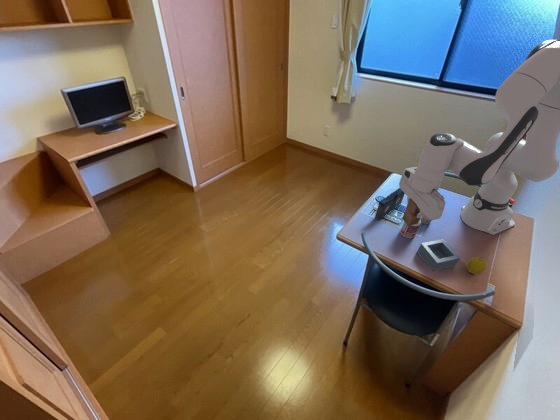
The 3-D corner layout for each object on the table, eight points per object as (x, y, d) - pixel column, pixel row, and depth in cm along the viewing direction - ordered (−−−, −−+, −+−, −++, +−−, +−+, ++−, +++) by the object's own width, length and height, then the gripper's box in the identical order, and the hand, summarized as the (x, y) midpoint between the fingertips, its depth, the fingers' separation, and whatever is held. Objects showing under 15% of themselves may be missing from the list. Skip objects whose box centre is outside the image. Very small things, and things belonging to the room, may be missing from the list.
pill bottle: (418, 235, 122) (427, 215, 115) (408, 240, 120) (417, 221, 112) (406, 226, 126) (414, 207, 119) (397, 232, 123) (404, 212, 116)
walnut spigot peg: (411, 216, 109) (419, 196, 103) (417, 223, 106) (426, 203, 100) (402, 218, 109) (409, 198, 102) (408, 225, 106) (416, 205, 99)
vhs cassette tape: (396, 201, 139) (402, 185, 133) (401, 204, 138) (408, 188, 131) (373, 217, 131) (378, 200, 124) (378, 221, 129) (384, 204, 122)
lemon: (462, 264, 110) (472, 251, 105) (478, 269, 109) (489, 255, 103) (463, 275, 106) (473, 262, 101) (480, 280, 105) (491, 267, 99)
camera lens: (433, 223, 128) (440, 210, 123) (421, 225, 127) (427, 212, 121) (425, 214, 132) (431, 201, 127) (413, 216, 131) (418, 203, 126)
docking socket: (438, 247, 117) (443, 238, 114) (455, 266, 110) (460, 257, 106) (417, 251, 115) (421, 243, 112) (432, 271, 108) (437, 262, 105)
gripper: (455, 198, 88) (439, 229, 97) (416, 164, 103) (405, 194, 112) (437, 201, 87) (423, 233, 96) (401, 166, 102) (391, 196, 111)
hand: (413, 211), depth 104 cm, fingers closed on walnut spigot peg, 4 cm apart
